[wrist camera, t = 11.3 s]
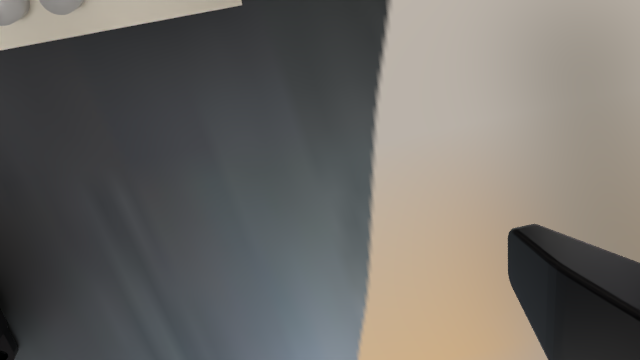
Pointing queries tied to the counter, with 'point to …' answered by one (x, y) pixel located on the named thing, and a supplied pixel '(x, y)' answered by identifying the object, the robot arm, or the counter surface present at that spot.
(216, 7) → the block
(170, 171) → the counter surface
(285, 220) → the counter surface
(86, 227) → the counter surface
